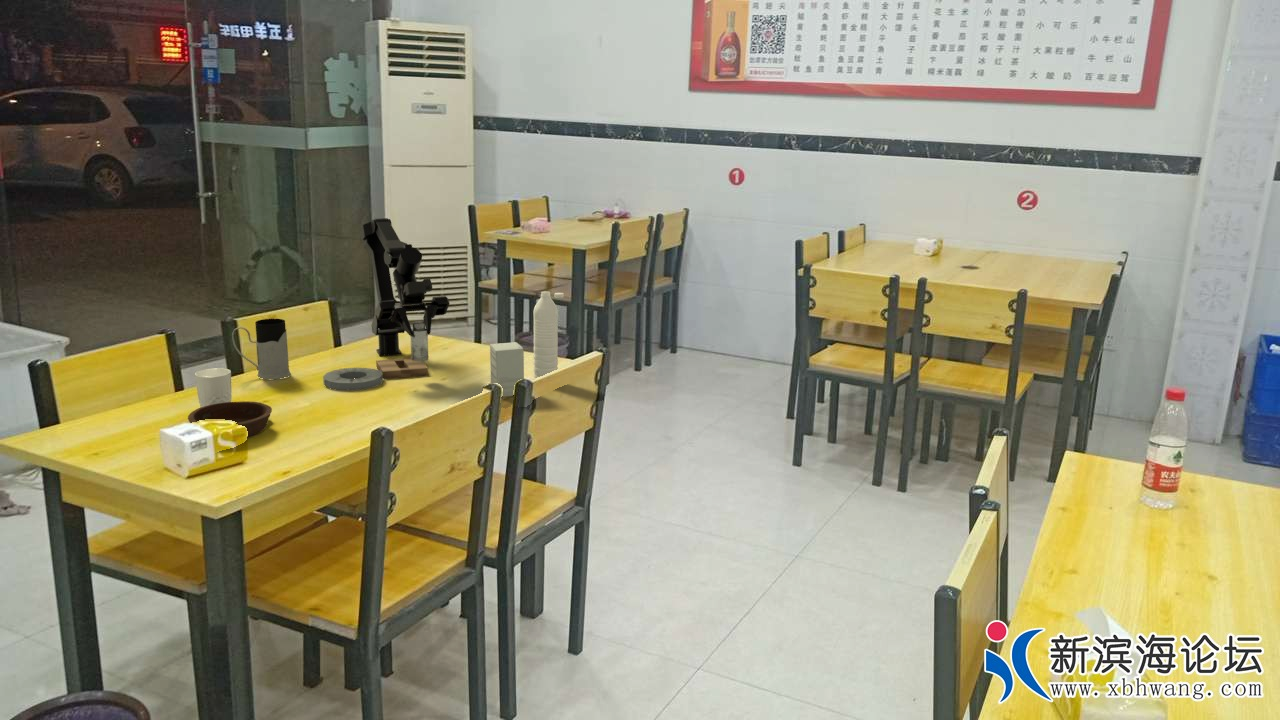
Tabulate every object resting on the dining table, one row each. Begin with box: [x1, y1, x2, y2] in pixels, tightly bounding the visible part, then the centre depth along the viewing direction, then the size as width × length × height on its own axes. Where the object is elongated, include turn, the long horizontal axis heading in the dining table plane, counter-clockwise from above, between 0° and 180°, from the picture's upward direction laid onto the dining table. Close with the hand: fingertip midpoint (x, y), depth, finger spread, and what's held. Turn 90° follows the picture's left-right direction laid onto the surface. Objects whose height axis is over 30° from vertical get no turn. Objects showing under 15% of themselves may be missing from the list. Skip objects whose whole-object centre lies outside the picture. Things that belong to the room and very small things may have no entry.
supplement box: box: [489, 341, 525, 398], centre depth 264 cm, size 7×7×13 cm
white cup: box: [194, 367, 233, 408], centre depth 243 cm, size 8×8×10 cm
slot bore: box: [375, 357, 429, 380], centre depth 282 cm, size 12×12×2 cm
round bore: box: [322, 367, 384, 391], centre depth 271 cm, size 15×15×2 cm
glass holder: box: [231, 318, 292, 380], centre depth 273 cm, size 9×14×15 cm, turn 104°
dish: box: [187, 400, 273, 438], centre depth 230 cm, size 18×22×5 cm
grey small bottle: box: [410, 320, 429, 362], centre depth 272 cm, size 4×4×10 cm
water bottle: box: [533, 290, 565, 379], centre depth 271 cm, size 9×6×25 cm
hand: (420, 334), depth 270 cm, fingers closed on grey small bottle, 4 cm apart
